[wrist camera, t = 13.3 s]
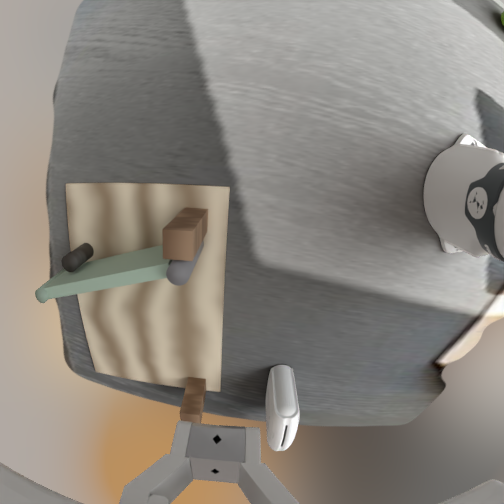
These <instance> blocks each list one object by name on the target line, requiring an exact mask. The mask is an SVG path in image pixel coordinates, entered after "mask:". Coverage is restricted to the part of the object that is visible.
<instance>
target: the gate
mask: <svg viewBox="0 0 504 504" xmlns="http://www.w3.org/2000/svg"><path fill="white" fill-rule="evenodd" d="M203 247H204V241H202V243H201V245H200V247H199V249H198V251H197V253H196V255H195V257H194V259H193V261H184V260H172V259H163V245H160V246H155V247H151V248H146V249H142V250H137V251H133V252H129V253H124V254H120V255H115V256H111V257H107V258H103V259H98V260H94V261H90V262H86V263H83V264H82V265H81V266H80V267H79V268H77V269H76V270H75V271H74V272H67V271H66V270H65V269H63V270H61V271H60V272H59V273H57V274H56V275H55V276H54V277H52V278H51V279H50V280H49V281H47V282H46V283H45V284H44V285H42V286H41V287H40V288H39V289H38V290H36V292H35V295H36V298H37V300H38V301H39V302H41V303H45V302H46V301H47V300H48V299H52V298H58V297H64V296H69V295H75V294H81V293H86V292H92V291H98V290H103V289H109V288H114V287H120V286H125V285H131V284H136V283H142V282H147V281H153V280H158V279H164V278H167V279H168V280H169V281H170V282H171V283H172V284H174V285H177V286H181V285H184V284H186V283H187V282H188V280H189V278H190V276H191V273H192V271H193V269H194V267H195V265H196V263H197V260H198V258H199V256H200V254H201V252H202V250H203Z"/></svg>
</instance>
